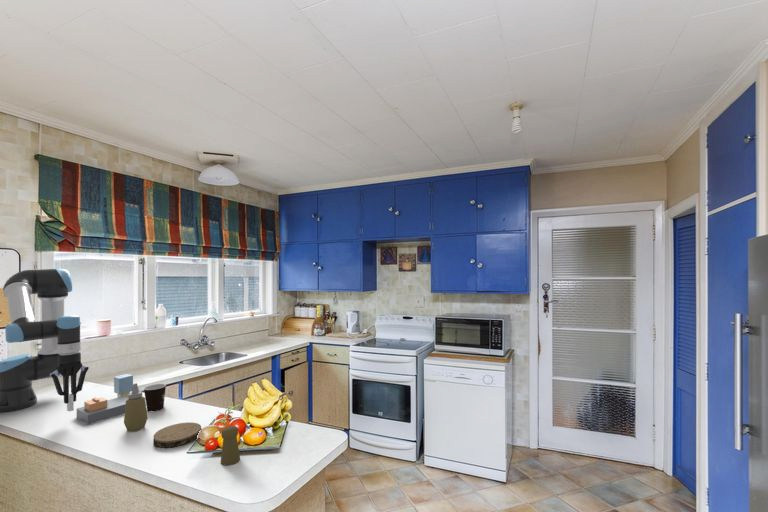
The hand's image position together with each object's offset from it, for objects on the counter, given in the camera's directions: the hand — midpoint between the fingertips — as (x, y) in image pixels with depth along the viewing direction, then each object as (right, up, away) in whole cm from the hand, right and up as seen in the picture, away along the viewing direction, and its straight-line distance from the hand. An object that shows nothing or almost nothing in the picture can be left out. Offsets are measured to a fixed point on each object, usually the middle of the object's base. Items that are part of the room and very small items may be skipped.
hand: (70, 410), depth 162 cm
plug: (+3, -6, +28) cm, 29 cm away
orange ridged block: (+5, -2, +7) cm, 9 cm away
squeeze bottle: (+31, -5, -6) cm, 32 cm away
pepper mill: (+79, -4, -33) cm, 86 cm away
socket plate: (+8, -6, +11) cm, 14 cm away
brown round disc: (+53, -5, -16) cm, 55 cm away
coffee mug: (+27, -6, +17) cm, 32 cm away
